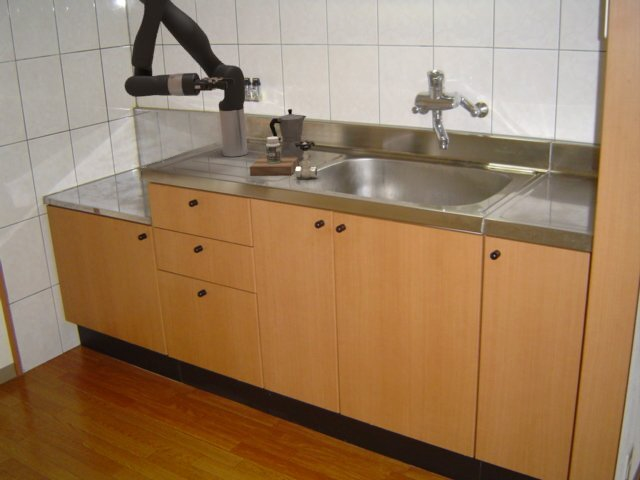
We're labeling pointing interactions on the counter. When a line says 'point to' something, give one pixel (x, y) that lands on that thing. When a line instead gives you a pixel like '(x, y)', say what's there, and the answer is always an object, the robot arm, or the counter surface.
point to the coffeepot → (289, 133)
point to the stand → (274, 167)
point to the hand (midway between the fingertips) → (230, 83)
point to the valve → (305, 162)
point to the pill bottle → (273, 150)
